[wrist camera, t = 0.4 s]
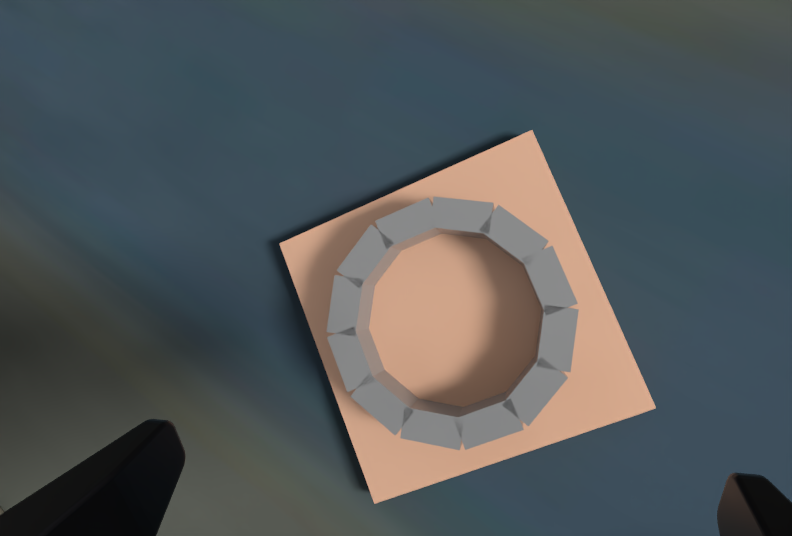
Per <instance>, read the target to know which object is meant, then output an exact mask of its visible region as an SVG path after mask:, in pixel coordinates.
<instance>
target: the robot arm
mask: <svg viewBox="0 0 792 536" xmlns="http://www.w3.org/2000/svg"><path fill="white" fill-rule="evenodd" d="M184 463H185V450H184V448H183V445H182V443H181V440H180V438H179V436H178V433H177V431H176V428H175V426H174V424H173V423H172V422H170V421H168V420H157V419H150V420H147V421H145V422H143V423H141V424H140V425H138V426H137V427H135V428H134V429H132V430H131V431H129V432H127V433H126V434H124V435H123V436H121V437H120V438H118V439H117V440H115V441H114V442H112V443H111V444H109V445H107V446H106V447H104V448H103V449H101V450H100V451H98V452H97V453H95V454H94V455H92V456H90V457H89V458H87V459H86V460H84V461H83V462H81V463H80V464H78V465H77V466H75V467H73V468H72V469H70V470H69V471H67V472H66V473H64V474H63V475H61V476H60V477H58V478H56V479H55V480H53V481H52V482H50V483H49V484H47V485H46V486H44V487H43V488H41V489H39V490H38V491H36V492H35V493H33V494H32V495H30V496H29V497H27V498H26V499H24V500H23V501H21V502H19V503H18V504H16V505H15V506H13V507H12V508H10V509H9V510H7V511H6V512H4V513H2V514H1V515H0V536H156V535H157V532H158V530H159V527H160V525H161V522H162V520H163V517H164V514H165V512H166V509H167V507H168V504H169V502H170V499H171V497H172V494H173V492H174V489H175V487H176V484H177V482H178V479H179V477H180V474H181V472H182V469H183V467H184ZM717 520H718V527H719V532H720V536H792V502H791V501H790V500H789V499H788V498H786V497H785V496H784V495H783V494H782V493H781V492H780V491H779V490H778V489H777V488H776V487H775V486H774V485H773V484H772V483H771V482H770V481H769V480H768V479H766V478H765V477H763V476H761V475H755V474H744V473H732V474H730V475H729V477H728V479H727V481H726V484H725V487H724V491H723V494H722V497H721V500H720V503H719V506H718V511H717Z"/></svg>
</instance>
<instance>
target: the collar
mask: <svg viewBox="0 0 792 536" xmlns="http://www.w3.org/2000/svg"><path fill="white" fill-rule="evenodd" d="M279 244H280V247H281V250H282V252H283V255H284V258H285V261H286V263H287V266H288V269H289V272H290V274H291V277H292V280H293V283H294V285H295V288H296V291H297V293H298V296H299V299H300V302H301V304H302V307H303V310H304V313H305V315H306V318H307V321H308V323H309V326H310V329H311V332H312V334H313V337H314V340H315V343H316V345H317V348H318V351H319V354H320V356H321V359H322V362H323V364H324V367H325V370H326V373H327V375H328V378H329V381H330V384H331V386H332V389H333V392H334V395H335V397H336V400H337V403H338V405H339V408H340V411H341V414H342V416H343V419H344V422H345V425H346V427H347V430H348V433H349V436H350V438H351V441H352V444H353V446H354V449H355V452H356V455H357V457H358V460H359V463H360V466H361V468H362V471H363V474H364V476H365V479H366V482H367V485H368V487H369V490H370V493H371V496H372V498H373V501H374V504H375V503H378V502H381V501H384V500H387V499H390V498H393V497H396V496H399V495H402V494H405V493H408V492H411V491H414V490H417V489H420V488H423V487H425V486H428V485H431V484H434V483H437V482H440V481H443V480H446V479H449V478H452V477H455V476H458V475H461V474H464V473H467V472H470V471H473V470H476V469H479V468H481V467H484V466H487V465H490V464H493V463H496V462H499V461H502V460H505V459H508V458H511V457H514V456H517V455H520V454H523V453H526V452H529V451H532V450H535V449H538V448H540V447H543V446H546V445H549V444H552V443H555V442H558V441H561V440H564V439H567V438H570V437H573V436H576V435H579V434H582V433H585V432H588V431H591V430H594V429H597V428H599V427H602V426H605V425H608V424H611V423H614V422H617V421H620V420H623V419H626V418H629V417H632V416H635V415H638V414H641V413H644V412H647V411H650V410H653V409H655V408H656V407H655V404H654V402H653V400H652V398H651V395H650V393H649V391H648V389H647V387H646V384H645V382H644V380H643V378H642V375H641V373H640V371H639V369H638V366H637V364H636V362H635V360H634V357H633V355H632V353H631V351H630V348H629V346H628V344H627V342H626V339H625V337H624V335H623V333H622V330H621V328H620V326H619V324H618V321H617V319H616V317H615V315H614V313H613V310H612V308H611V306H610V304H609V301H608V299H607V297H606V295H605V292H604V290H603V288H602V286H601V283H600V281H599V279H598V277H597V274H596V272H595V270H594V268H593V265H592V263H591V261H590V259H589V256H588V254H587V252H586V250H585V247H584V245H583V243H582V241H581V239H580V236H579V234H578V232H577V230H576V227H575V225H574V223H573V221H572V218H571V216H570V214H569V212H568V209H567V207H566V205H565V203H564V200H563V198H562V196H561V194H560V191H559V189H558V187H557V185H556V182H555V180H554V178H553V176H552V173H551V171H550V169H549V167H548V165H547V162H546V160H545V158H544V156H543V153H542V151H541V149H540V147H539V144H538V142H537V140H536V138H535V135H534V133H533V131H532V130H531V131H529V132H526V133H524V134H522V135H520V136H517V137H515V138H513V139H511V140H509V141H506V142H504V143H502V144H500V145H497V146H495V147H493V148H491V149H488V150H486V151H484V152H482V153H480V154H477V155H475V156H473V157H471V158H468V159H466V160H464V161H462V162H460V163H457V164H455V165H453V166H451V167H448V168H446V169H444V170H442V171H440V172H437V173H435V174H433V175H431V176H428V177H426V178H424V179H422V180H420V181H417V182H415V183H413V184H411V185H408V186H406V187H404V188H402V189H400V190H397V191H395V192H393V193H391V194H388V195H386V196H384V197H382V198H380V199H377V200H375V201H373V202H371V203H368V204H366V205H364V206H362V207H359V208H357V209H355V210H353V211H351V212H348V213H346V214H344V215H342V216H339V217H337V218H335V219H333V220H331V221H328V222H326V223H324V224H322V225H319V226H317V227H315V228H313V229H311V230H308V231H306V232H304V233H302V234H299V235H297V236H295V237H293V238H291V239H288V240H286V241H284V242H282V243H279Z"/></svg>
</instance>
